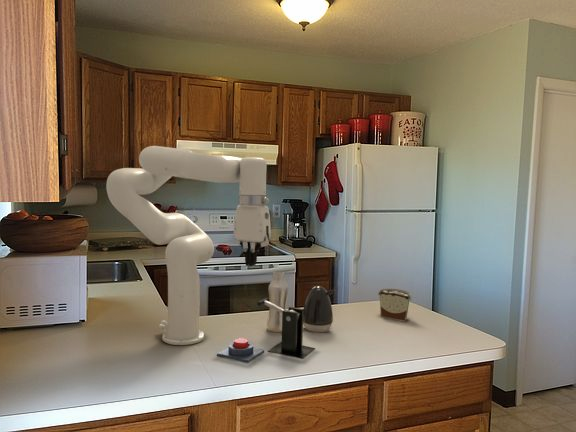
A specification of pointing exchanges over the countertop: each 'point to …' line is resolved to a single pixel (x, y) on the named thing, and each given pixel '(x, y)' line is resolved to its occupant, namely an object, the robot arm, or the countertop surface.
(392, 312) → the food container
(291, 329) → the bracket
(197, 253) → the robot arm
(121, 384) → the countertop surface
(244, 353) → the button box
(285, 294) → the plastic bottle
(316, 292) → the dark grey tapered dome
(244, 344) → the button
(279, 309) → the lever
